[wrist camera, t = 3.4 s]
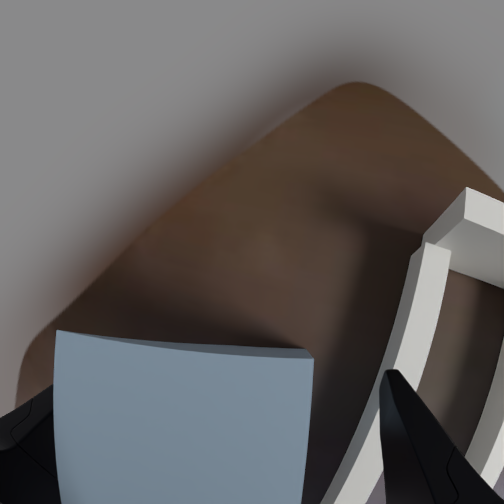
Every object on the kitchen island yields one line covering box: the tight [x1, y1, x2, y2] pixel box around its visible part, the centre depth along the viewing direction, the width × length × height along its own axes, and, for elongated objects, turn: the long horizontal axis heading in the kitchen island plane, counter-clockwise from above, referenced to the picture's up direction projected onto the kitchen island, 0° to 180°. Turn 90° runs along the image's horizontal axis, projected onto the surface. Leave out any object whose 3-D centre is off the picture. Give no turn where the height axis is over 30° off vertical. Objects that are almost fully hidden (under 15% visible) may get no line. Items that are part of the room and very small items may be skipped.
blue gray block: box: [53, 330, 314, 504], centre depth 10 cm, size 4×4×13 cm
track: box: [320, 187, 504, 504], centre depth 11 cm, size 18×9×6 cm, turn 160°
